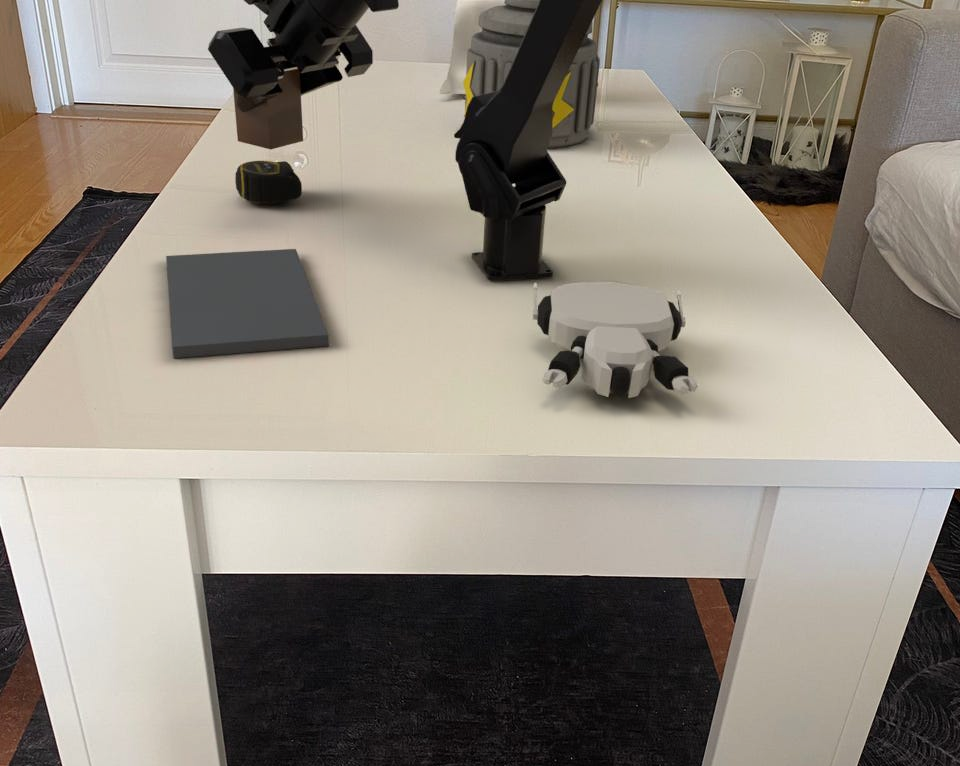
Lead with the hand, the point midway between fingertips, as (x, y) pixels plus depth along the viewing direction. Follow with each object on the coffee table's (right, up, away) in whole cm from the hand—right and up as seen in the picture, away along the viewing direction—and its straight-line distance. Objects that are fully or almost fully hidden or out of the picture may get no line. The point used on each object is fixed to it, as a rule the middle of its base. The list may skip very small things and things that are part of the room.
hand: (258, 104), depth 106 cm
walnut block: (+1, -4, +1) cm, 4 cm away
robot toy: (+34, -31, -28) cm, 54 cm away
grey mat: (+3, -25, -20) cm, 32 cm away
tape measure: (+1, -9, +5) cm, 10 cm away
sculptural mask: (+33, +32, +60) cm, 76 cm away
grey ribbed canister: (+31, +9, +36) cm, 48 cm away
